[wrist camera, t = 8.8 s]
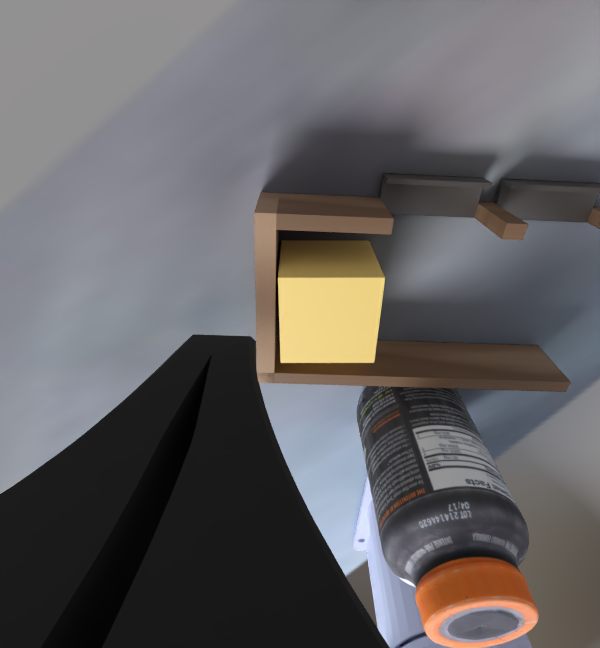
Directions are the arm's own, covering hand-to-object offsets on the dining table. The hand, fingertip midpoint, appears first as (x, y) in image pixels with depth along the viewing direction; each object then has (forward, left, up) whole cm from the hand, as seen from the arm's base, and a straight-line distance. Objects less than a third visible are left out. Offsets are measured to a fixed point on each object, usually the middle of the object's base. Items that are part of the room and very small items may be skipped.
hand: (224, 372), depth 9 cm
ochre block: (-3, -3, -10) cm, 11 cm away
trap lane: (-3, -7, -10) cm, 13 cm away
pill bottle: (-10, -9, -11) cm, 17 cm away
